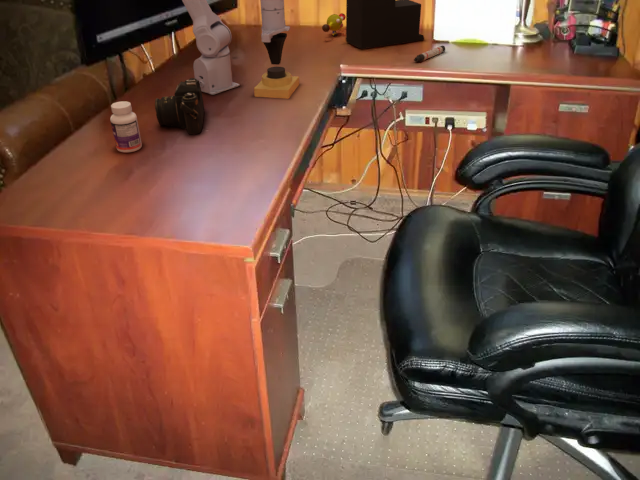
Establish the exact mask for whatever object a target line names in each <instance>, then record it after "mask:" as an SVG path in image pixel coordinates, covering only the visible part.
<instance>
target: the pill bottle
mask: <svg viewBox="0 0 640 480" xmlns="http://www.w3.org/2000/svg"><path fill="white" fill-rule="evenodd" d="M110 108H111V109H110V110H111V113H112V114H111V115H110V125H111V130H112V135H113V139H114V145H115V147H116V150H117V151H118V152H120V153H134V152H136V151H139V150H140V149H141V148H142V147H143V141H142V137H141V136H142V135H141V132H140V125H139V122H138V121H139V120H138V117H137V114H136V113H135V112H134V111H133V108H132V104H131V102H130V101H125V100H123V101H121V100H120V101H116V102H113V103H112V104H110Z"/></svg>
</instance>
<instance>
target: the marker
mask: <svg viewBox="0 0 640 480" xmlns="http://www.w3.org/2000/svg"><path fill="white" fill-rule="evenodd" d="M445 51H446V46H445V45H440V46H437V47H434V48H432V49H429V50H427V51H425V52H422V53H420V54H418V55H416V56H415V57H414V58H413V61H414V62H418V63H420V62H424V61H425V60H428V59H430V58H432V57H435V56H437V55H440V54H442V53H444V52H445Z"/></svg>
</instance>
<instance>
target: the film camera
mask: <svg viewBox="0 0 640 480" xmlns="http://www.w3.org/2000/svg"><path fill="white" fill-rule="evenodd" d="M203 97H204V96H203V93H202V91H201V87H200V83H199V80H197V79H195V77H190V78H189V79H186V80H184V81H180V82H179V83H178V84H177V86H176V88H175V91H174V95H169V96H162V97H161V98H159V97H157V98H155V101H154V110H155V115H156V119H157V122H158V125H159V126H167V127H169V128H171V127H175V128H177V127H178V128H179V129H181V130H184V129H186V132H187V134H188V135H194V134H200V133H202V129H203V126H204V116H205V106H204V98H203Z"/></svg>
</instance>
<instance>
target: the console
mask: <svg viewBox="0 0 640 480" xmlns="http://www.w3.org/2000/svg"><path fill="white" fill-rule="evenodd" d="M285 76H286V77H284V78H279V79H271V78H268V74H267V72H264V73H263V74H262V75H261V80H260V81H259V82H258V83H257V84H256V85H255V86H254V87H253V93H254V97H258V98H275V99H290V97H291V96H292V95H293V93H294V92H295V91H296V89H298V87H299V86H300V76H292V74H291V73H290V72H289V71H285Z"/></svg>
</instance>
